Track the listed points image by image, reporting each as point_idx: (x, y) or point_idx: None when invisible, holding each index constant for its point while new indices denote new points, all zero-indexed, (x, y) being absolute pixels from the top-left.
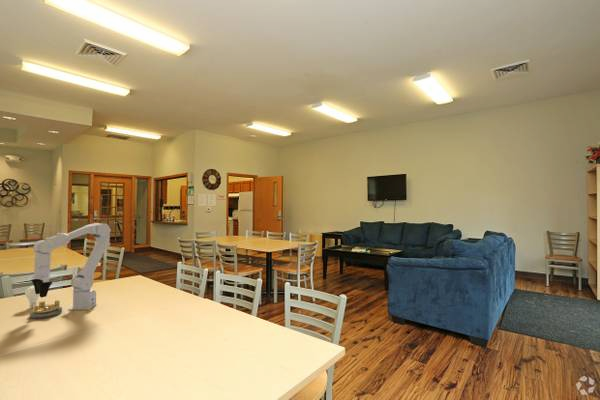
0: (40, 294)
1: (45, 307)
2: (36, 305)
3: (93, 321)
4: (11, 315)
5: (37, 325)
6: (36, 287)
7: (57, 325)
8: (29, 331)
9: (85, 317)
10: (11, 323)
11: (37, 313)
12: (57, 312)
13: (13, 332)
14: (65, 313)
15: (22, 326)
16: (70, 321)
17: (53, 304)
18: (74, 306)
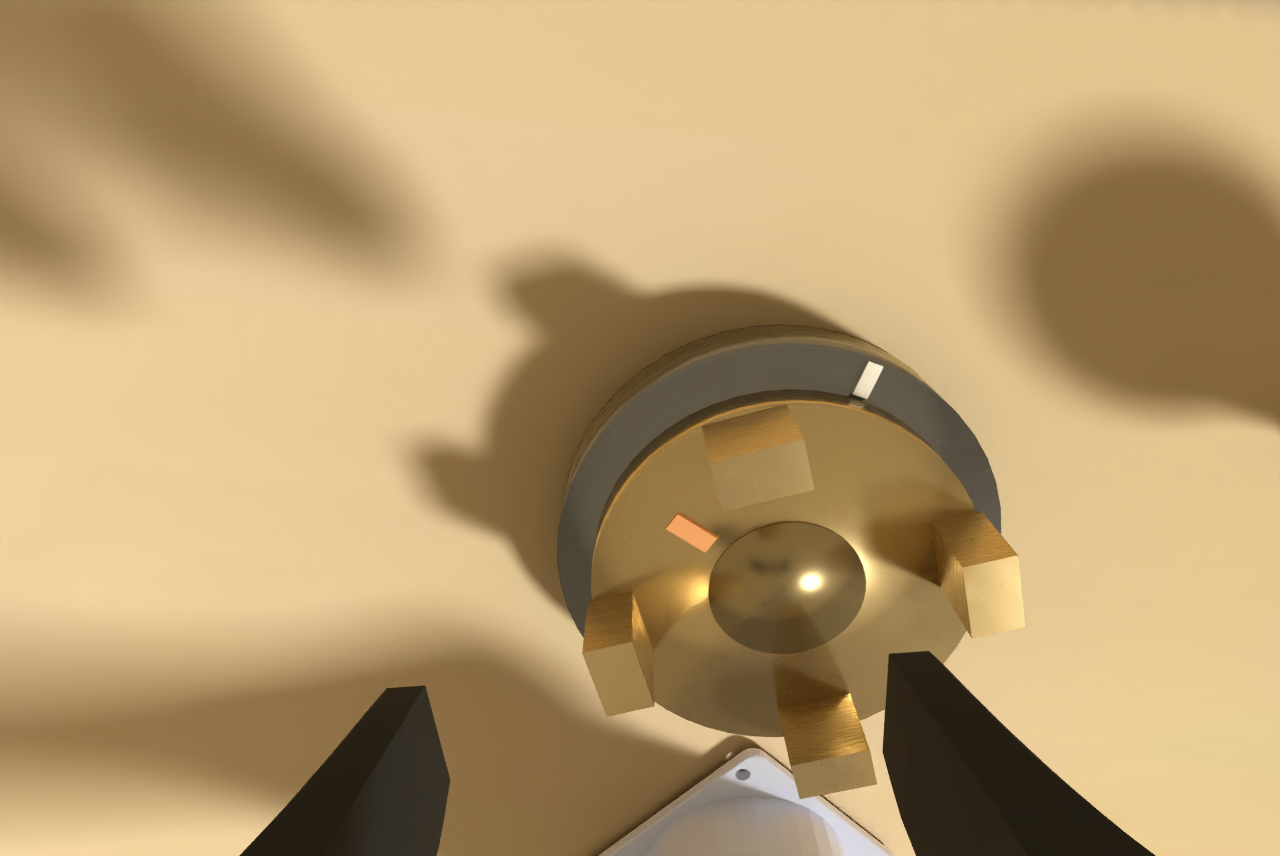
0: (331, 758)
1: (782, 579)
2: (781, 496)
3: (46, 834)
4: (1214, 100)
5: (272, 365)
6: (993, 848)
7: (111, 553)
8: (26, 245)
9: (263, 810)
10: (673, 57)
11: (656, 440)
12: None
13: (104, 41)
14: None
15: (362, 189)
16: (198, 681)
17: (608, 705)
18: (713, 827)
